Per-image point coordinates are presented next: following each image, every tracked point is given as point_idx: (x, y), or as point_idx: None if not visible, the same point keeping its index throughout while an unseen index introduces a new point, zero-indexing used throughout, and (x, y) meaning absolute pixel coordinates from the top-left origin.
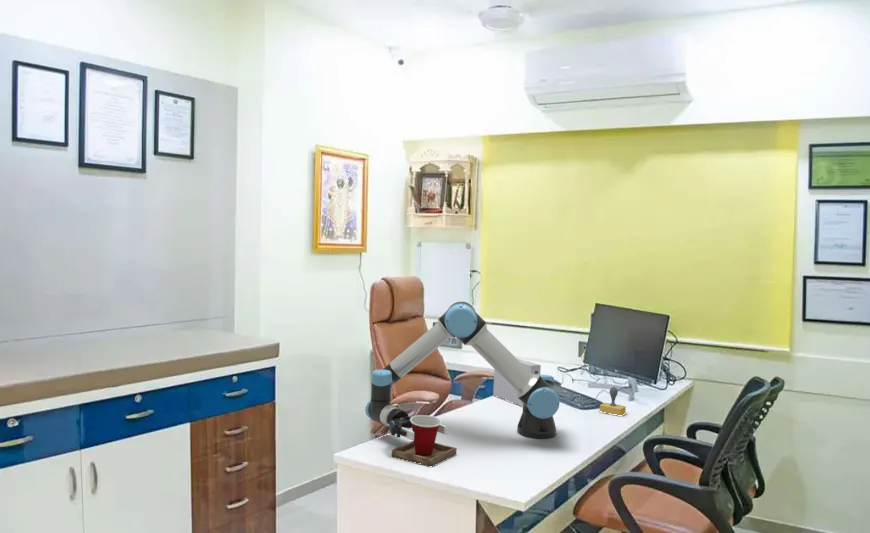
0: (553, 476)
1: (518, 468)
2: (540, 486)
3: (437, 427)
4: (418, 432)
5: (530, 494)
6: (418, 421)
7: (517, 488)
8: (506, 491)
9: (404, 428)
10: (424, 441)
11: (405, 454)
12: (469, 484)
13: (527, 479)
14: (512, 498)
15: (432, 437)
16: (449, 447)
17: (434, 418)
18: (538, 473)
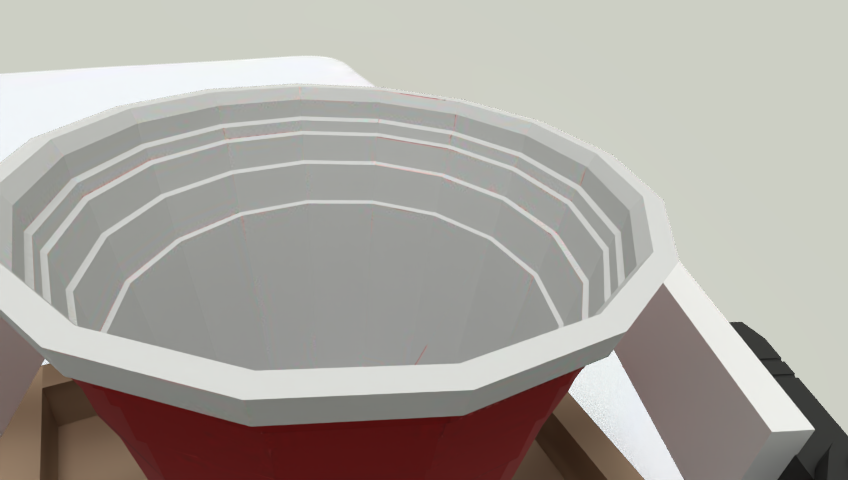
0: (13, 77)
1: (12, 143)
2: (167, 66)
3: (261, 144)
4: (515, 264)
5: (262, 58)
6: (321, 457)
7: (255, 80)
8: (312, 82)
9: (746, 364)
10: (427, 320)
11: (625, 470)
12: None
13: (135, 93)
14: (339, 64)
15: (330, 265)
16: (40, 422)
17: (16, 213)
18: (19, 100)
